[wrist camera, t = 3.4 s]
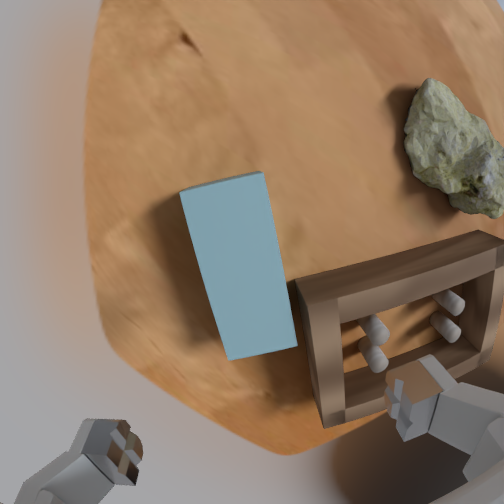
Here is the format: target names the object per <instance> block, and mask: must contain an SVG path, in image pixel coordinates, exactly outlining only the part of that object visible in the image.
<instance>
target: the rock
mask: <svg viewBox="0 0 504 504" xmlns="http://www.w3.org/2000/svg"><path fill="white" fill-rule="evenodd" d="M405 120H406V121H407V122H406V123H405V127H404V132H405V135H406V137H405V140H404V149H405V152H406V153H407V154H408V157H409V160H410V165H411V167H412V171H413V174H414V176H415V177H417V178H418V179H419V180H421V181H422V182H423V183H425V184H426V185H427V186H429V187H434V188H439V189H440V190H441V191H442V192H444V193H447V194H448V197H449V202H450V204H451V206H452V207H454V208H459V209H460V210H461V211H463V212H464V213H468V214H470V215H471V214H478V213H481V214H485V215H487V216H489V217H490V218H492V219H496V218H498V217H500V216H501V215H502V214H503V210H504V148H503V147H502V146H501V145H500V143H499V142H498V141H496V140H495V139H494V137H493V135H492V134H491V132H490V130H489V129H488V126H487V124H486V122H485V121H484V120H483V119H481V118H479V117H477V116H475V115H473V114H471V113H469V112H468V111H466V110H465V108H464V106H463V104H462V103H461V102H460V100H459V99H458V98H457V96H455V95H454V94H453V93H452V92H451V90H450V89H449V88H448V87H447V86H446V85H444V84H443V83H441V82H439V81H437V80H434V79H432V78H428V79H426V80H425V81H424V82H423V84H422V85H421V87H420V88H419V89H418V90H417V91H416V93H415V96H414V98H413V100H412V104H411V106H410V107H409V108H408V117H407V118H406V119H405Z"/></svg>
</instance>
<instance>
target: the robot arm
mask: <svg viewBox="0 0 504 504" xmlns="http://www.w3.org/2000/svg"><path fill="white" fill-rule="evenodd" d="M385 381H386V382H387V384H388V387H387V388H386V389H385V392H384V399H385V405H386V408H387V411H388V413H389V415H390V416H391V417H392V418H394V419H396V420H397V425H396V428H397V429H398V431H399V433H400V435H401V437H402V439H403V441H404V442H405V441H407V440H410V439H412V438H415V437H417V436H419V435H422V434H424V433H427V432H428V433H429V434H432V435H433V436H435V437H437V438H439V439H441V440H443V441H445V442H446V443H448V444H450V445H452V446H454V447H456V448H458V449H460V450H462V451H464V452H466V453H468V454H470V455H472V456H471V457H470V459H469V461H468V462H467V464H466V465H465V467H464V470H463V473H464V475H465V477H466V478H467V480H468V483H466V484H464V485H463V486H461V487H459V488H458V489H456V490H454V491H452V492H451V493H449V494H447V495H445V496H443V497H441V498H439V499H437V500H436V501H433V502H432V503H429V504H504V394H501V393H497V392H494V391H490V390H486V389H483V388H480V387H476V386H473V385H470V384H466V383H463V382H461V383H459V384H458V383H457V382H456V381H455V380H454V379H453V377H452V376H451V375H450V374H449V373H448V372H447V371H446V369H445V368H444V367H443V366H442V365H441V364H440V363H439V362H438V360H437V359H436V358H435V357H434V356H433V355H431V354H429V355H427V356H424V357H422V358H419V359H417V360H416V361H412V362H410V363H407V364H405V365H402V366H399V367H397V368H394V369H392V370H389V371H387V373H386V379H385ZM130 428H131V427H130V425H129V424H128V423H127V422H126V420H115V419H85V420H84V421H83V422H82V424H81V426H80V429H79V430H78V432H77V435H76V437H75V439H74V441H73V443H72V445H71V448H70V450H69V452H64V453H63V454H62V455H60V456H59V457H57V458H56V459H55V460H53V461H52V462H51V463H49V464H48V465H47V466H45V467H44V468H43V469H42V470H40V471H39V472H37V473H36V474H34V475H33V476H32V477H30V478H29V479H28V480H26V481H25V482H24V483H23V485H22V487H21V489H20V491H19V494H18V496H17V498H16V501H15V503H14V504H98V503H99V502H100V501H101V500H102V499H103V498H104V496H106V495H107V493H108V492H109V491H110V490H111V489H112V488H113V487H114V484H116V485H130V486H135V485H136V482H137V478H138V473H139V469H138V467H137V466H136V465H137V464H138V463H139V462H140V461H141V460H142V456H143V448H142V443H141V441H140V439H139V438H138V436H137V435H135V434H134V433H132V432H131V431H130ZM0 504H3V503H1V502H0Z"/></svg>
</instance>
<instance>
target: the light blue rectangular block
mask: <svg viewBox="0 0 504 504" xmlns="http://www.w3.org/2000/svg"><path fill="white" fill-rule="evenodd" d="M179 194H180V198H181V201H182V205H183V209H184V213H185V217H186V221H187V224H188V228H189V232H190V236H191V239H192V243H193V246H194V250H195V254H196V257H197V261H198V264H199V268H200V271H201V274H202V278H203V281H204V285H205V288H206V291H207V295H208V298H209V301H210V304H211V308H212V311H213V314H214V317H215V321H216V324H217V327H218V330H219V333H220V336H221V339H222V342H223V345H224V348H225V351H226V354H227V357H228V360H235V359H240V358H245V357H250V356H255V355H260V354H264V353H269V352H274V351H278V350H283V349H287V348H291V347H295V346H297V340H296V335H295V329H294V324H293V318H292V313H291V307H290V302H289V296H288V291H287V286H286V281H285V275H284V270H283V265H282V260H281V255H280V250H279V245H278V240H277V235H276V230H275V225H274V220H273V215H272V211H271V206H270V201H269V196H268V191H267V187H266V182H265V177H264V173H263V172H260V171H256V172H251V173H246V174H242V175H237V176H233V177H229V178H224V179H220V180H216V181H212V182H208V183H204V184H200V185H196V186H192V187H188V188H187V189H185V190H183V191H181V192H179Z"/></svg>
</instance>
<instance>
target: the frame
mask: <svg viewBox="0 0 504 504" xmlns="http://www.w3.org/2000/svg"><path fill="white" fill-rule="evenodd" d="M461 283H463V292H462V298H460V297H459V296H458V295H456V294H455V293H453V292H452V291H451V290H449V289H448V288H451V287H453V286H456V285H459V284H461ZM295 284H296V290H297V295H298V301H299V307H300V313H301V319H302V325H303V331H304V337H305V343H306V349H307V355H308V362H309V368H310V375H311V382H312V389H313V396H314V399H315V402H316V405H317V409H318V412H319V415H320V418H321V421H322V425H323V428H324V429H325V428H329V427H333V426H336V425H340V424H343V423H346V422H350V421H353V420H356V419H359V418H362V417H365V416H368V415H371V414H374V413H377V412H380V411H382V410H385V409H387V408H386V405H385V399H384V392H385V389H386V388H387V387H388V384H387V382H386V381H385V379H386V373H387V371H389V370H392V369H394V368H397V367H399V366H402V365H405V364H407V363H410V362H412V361H416V360H417V359H419V358H422V357H424V356H427V355H429V354H431V355H433V356H434V357H435V358H436V359H437V360H438V362H439V363H440V364H441V365H442V366H443V367H444V368H445V369H446V371H447V372H448V373H449V374H450V375H451V376H452V377H453V379H456V378H457V377H460V376H461V375H463V374H465V373H467V372H469V371H471V370H473V369H474V368H476V367H478V366H480V365H481V364H483V363H485V362H486V361H488V360H489V359H490V356H491V352H492V349H493V345H494V341H495V337H496V332H497V328H498V323H499V318H500V313H501V308H502V302H503V296H504V240H503V239H500V238H498V237H495V236H493V235H491V234H488V233H485V232H483V231H480V230H476V231H473V232H469V233H466V234H463V235H459V236H456V237H453V238H449V239H446V240H442V241H439V242H435V243H432V244H428V245H425V246H421V247H418V248H414V249H410V250H407V251H403V252H399V253H396V254H392V255H388V256H385V257H381V258H377V259H373V260H369V261H366V262H362V263H358V264H354V265H350V266H346V267H342V268H338V269H334V270H330V271H326V272H322V273H318V274H314V275H310V276H306V277H301V278H297V279H295ZM429 295H431V296H432V298H433V299H434V300H435V301H437V302H438V303H439V304H440V305H442V306H443V307H444V308H445V309H447V310H448V311H449V312H450V313H451V314H453V315H454V316H457V315H459V314H460V318H459V325H458V326H457V325H455V324H454V323H453V322H452V321H451V320H450V319H449V318H447V317H446V316H445V315H444V314H443V313H442V312H440V311H436V312H434V313H433V314H432V316H431V317H430V324H431V325H432V326H433V327H434V328H435V329H436V330H437V331H438V332H439V333H440V334H441V335H442V336H443V338H441V339H439V340H436V341H434V342H432V343H429V344H427V345H425V346H422V347H420V348H417V349H415V350H412V351H409V352H407V353H404V354H401V355H399V356H396V357H393V358H391V359H387V358H386V356H385V355H384V353H383V352H382V351H381V349H380V348H379V345H382V344H384V343H385V342H386V341H387V340H388V338H389V336H390V332H389V330H388V329H387V328H386V327H385V325H384V324H383V323H382V322H381V321H380V319H379V318H378V317H377V316H376V315H375V313H379V312H382V311H385V310H388V309H391V308H394V307H397V306H400V305H403V304H406V303H409V302H412V301H415V300H418V299H421V298H424V297H427V296H429ZM355 319H356V320H357V322H358V323H359V325H360V326H361V328H362V329H363V330H364V332H365V333H366V335H367V336H365V337H363V338H361V339H360V340H359V342H358V348H359V350H360V352H361V353H362V355H363V357H364V358H365V360H366V362H367V363H368V365H369V366H367V367H364V368H361V369H358V370H355V371H351V372H348V373H345V374H344V371H343V356H342V342H341V330H340V324H341V323H345V322H348V321H352V320H355Z"/></svg>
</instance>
